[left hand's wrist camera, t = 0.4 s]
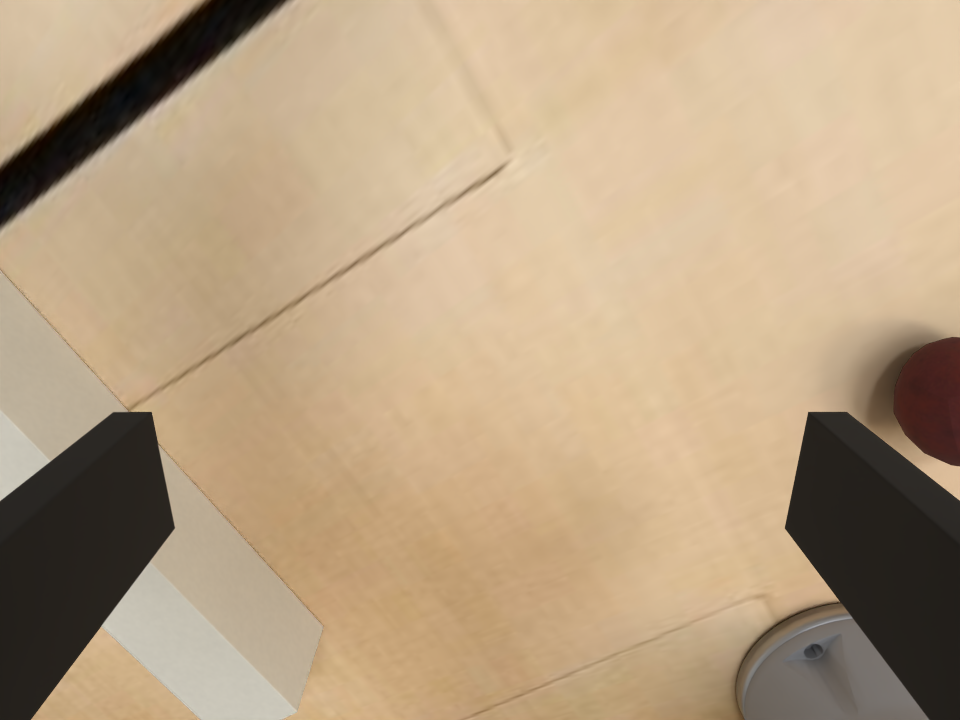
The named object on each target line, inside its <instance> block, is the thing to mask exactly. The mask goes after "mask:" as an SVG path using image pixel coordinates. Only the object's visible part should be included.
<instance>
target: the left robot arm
mask: <svg viewBox="0 0 960 720" xmlns="http://www.w3.org/2000/svg"><path fill="white" fill-rule="evenodd" d="M174 529H175V525H174V520H173V515H172V510H171V505H170V500H169V495H168V490H167V486H166V481H165V476H164V471H163V466H162V461H161V456H160V451H159V446H158V441H157V436H156V431H155V426H154V421H153V416H152V412H113V413H111V414H110V415H109V416H108V417H106V418H105V419H104V420H103V421H101V422H100V423H99V424H97V425H96V426H95V427H94V428H92V429H91V430H90V431H89V432H87V433H86V434H85V435H83V436H82V437H81V438H80V439H78V440H77V441H76V442H75V443H73V444H72V445H71V446H69V447H68V448H67V449H66V450H64V451H63V452H62V453H61V454H59V455H58V456H57V457H55V458H54V459H53V460H52V461H50V462H49V463H48V464H47V465H45V466H44V467H43V468H41V469H40V470H39V471H38V472H36V473H35V474H34V475H33V476H31V477H30V478H29V479H27V480H26V481H25V482H24V483H22V484H21V485H20V486H19V487H17V488H16V489H15V490H13V491H12V492H11V493H10V494H8V495H7V496H6V497H5V498H3V499H2V500H1V501H0V720H31V719H32V717H33V716H34V715H35V713H36V712H37V711H38V709H39V708H40V707H41V705H42V704H43V703H44V701H45V700H46V699H47V698H48V696H49V695H50V694H51V692H52V691H53V690H54V688H55V687H56V686H57V684H58V683H59V682H60V680H61V679H62V678H63V676H64V675H65V674H66V672H67V671H68V670H69V668H70V667H71V666H72V664H73V663H74V662H75V660H76V659H77V658H78V656H79V655H80V654H81V652H82V651H83V650H84V648H85V647H86V646H87V644H88V643H89V642H90V640H91V639H92V638H93V636H94V635H95V634H96V633H97V631H98V630H99V629H100V627H101V626H102V625H103V623H104V622H105V621H106V619H107V618H108V617H109V615H110V614H111V613H112V611H113V610H114V609H115V607H116V606H117V605H118V603H119V602H120V601H121V599H122V598H123V597H124V595H125V594H126V593H127V591H128V590H129V589H130V587H131V586H132V585H133V583H134V582H135V581H136V579H137V578H138V577H139V575H140V574H141V573H142V572H143V570H144V569H145V568H146V566H147V565H148V564H149V562H150V561H151V560H152V558H153V557H154V556H155V554H156V553H157V552H158V550H159V549H160V548H161V546H162V545H163V544H164V542H165V541H166V540H167V538H168V537H169V536H170V534H171V533H172V532H173V530H174ZM785 529H786V530H787V532H788V533H789V534H790V536H791V537H792V538H793V540H794V541H795V542H796V544H797V545H798V546H799V548H800V549H801V550H802V552H803V553H804V554H805V556H806V557H807V558H808V560H809V561H810V562H811V564H812V565H813V566H814V568H815V569H816V570H817V572H818V573H819V574H820V575H821V577H822V578H823V579H824V581H825V582H826V583H827V585H828V586H829V587H830V589H831V590H832V591H833V593H834V594H835V595H836V597H837V598H838V599H839V601H840V602H841V603H842V605H843V606H844V607H845V609H846V610H847V611H848V613H849V614H850V615H851V617H852V618H853V619H854V621H855V622H856V623H857V625H858V626H859V627H860V629H861V630H862V631H863V633H864V634H865V635H866V636H867V638H868V639H869V640H870V642H871V643H872V644H873V646H874V647H875V648H876V650H877V651H878V652H879V654H880V655H881V656H882V658H883V659H884V660H885V662H886V663H887V664H888V666H889V667H890V668H891V670H892V671H893V672H894V674H895V675H896V676H897V678H898V679H899V680H900V682H901V683H902V684H903V686H904V687H905V688H906V690H907V691H908V692H909V694H910V695H911V696H912V698H913V699H914V700H915V701H916V703H917V704H918V705H919V707H920V708H921V709H922V711H923V712H924V713H925V715H926V716H927V717H928V719H929V720H960V501H959V500H958V499H957V498H955V497H954V496H953V495H952V494H950V493H949V492H948V491H947V490H945V489H944V488H943V487H941V486H940V485H939V484H938V483H936V482H935V481H934V480H933V479H931V478H930V477H929V476H927V475H926V474H925V473H924V472H922V471H921V470H920V469H919V468H917V467H916V466H915V465H913V464H912V463H911V462H910V461H908V460H907V459H906V458H905V457H903V456H902V455H901V454H899V453H898V452H897V451H896V450H894V449H893V448H892V447H891V446H889V445H888V444H887V443H885V442H884V441H883V440H882V439H880V438H879V437H878V436H877V435H875V434H874V433H873V432H871V431H870V430H869V429H868V428H866V427H865V426H864V425H863V424H861V423H860V422H859V421H857V420H856V419H855V418H854V417H852V416H851V415H850V414H849V413H847V412H808V416H807V421H806V426H805V431H804V436H803V441H802V446H801V451H800V456H799V461H798V466H797V471H796V476H795V481H794V486H793V490H792V495H791V500H790V505H789V510H788V515H787V520H786V525H785Z"/></svg>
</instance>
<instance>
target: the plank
mask: <svg viewBox="0 0 960 720" xmlns="http://www.w3.org/2000/svg"><path fill="white" fill-rule="evenodd" d="M113 412H129V411H128V410H127V409H126V408H125V407H124V406H123V405H122V403H121V402H120V401H119V400H118V399H117V398H116V397H115V396H114V395H113V394H112V392H111V391H110V390H109V389H108V388H107V387H106V386H105V385H104V384H103V383H102V381H101V380H100V379H99V378H98V377H97V376H96V375H95V374H94V373H93V372H92V370H91V369H90V368H89V367H88V366H87V365H86V364H85V363H84V362H83V360H82V359H81V358H80V357H79V356H78V355H77V354H76V353H75V352H74V351H73V349H72V348H71V347H70V346H69V345H68V344H67V343H66V342H65V341H64V340H63V338H62V337H61V336H60V335H59V334H58V333H57V332H56V331H55V330H54V329H53V327H52V326H51V325H50V324H49V323H48V322H47V321H46V320H45V319H44V317H43V316H42V315H41V314H40V313H39V312H38V311H37V310H36V309H35V308H34V306H33V305H32V304H31V303H30V302H29V301H28V300H27V299H26V298H25V297H24V295H23V294H22V293H21V292H20V291H19V290H18V289H17V288H16V287H15V286H14V284H13V283H12V282H11V281H10V280H9V279H8V278H7V277H6V276H5V274H4V273H3V272H2V271H1V270H0V501H1V500H2V499H3V498H5V497H6V496H7V495H8V494H10V493H11V492H12V491H13V490H15V489H16V488H17V487H19V486H20V485H21V484H22V483H24V482H25V481H26V480H27V479H29V478H30V477H31V476H33V475H34V474H35V473H36V472H38V471H39V470H40V469H41V468H43V467H44V466H45V465H47V464H48V463H49V462H50V461H52V460H53V459H54V458H55V457H57V456H58V455H59V454H61V453H62V452H63V451H64V450H66V449H67V448H68V447H69V446H71V445H72V444H73V443H75V442H76V441H77V440H78V439H80V438H81V437H82V436H83V435H85V434H86V433H87V432H89V431H90V430H91V429H92V428H94V427H95V426H96V425H97V424H99V423H100V422H101V421H103V420H104V419H105V418H106V417H108V416H109V415H110V414H111V413H113ZM158 446H159V451H160V456H161V461H162V466H163V471H164V476H165V481H166V486H167V490H168V495H169V500H170V505H171V510H172V515H173V520H174V525H175V529H174V530H173V532H172V533H171V534H170V536H169V537H168V538H167V540H166V541H165V542H164V544H163V545H162V546H161V548H160V549H159V550H158V552H157V553H156V554H155V556H154V557H153V558H152V560H151V561H150V562H149V564H148V565H147V566H146V568H145V569H144V570H143V572H142V573H141V574H140V575H139V577H138V578H137V579H136V581H135V582H134V583H133V585H132V586H131V587H130V589H129V590H128V591H127V593H126V594H125V595H124V597H123V598H122V599H121V601H120V602H119V603H118V605H117V606H116V607H115V609H114V610H113V611H112V613H111V614H110V615H109V617H108V618H107V619H106V621H105V622H104V623H103V625H102V626H101V627H102V628H103V629H105V630H106V631H107V632H108V633H109V634H110V635H111V636H112V637H113V638H114V639H115V640H116V641H117V642H118V643H119V644H120V645H122V646H123V647H124V648H125V649H126V650H127V651H128V652H129V653H130V654H131V655H132V656H133V657H134V658H135V659H136V660H138V661H139V662H140V663H141V664H142V665H143V666H144V667H145V668H146V669H147V670H148V671H149V672H150V673H151V674H152V675H153V676H155V677H156V678H157V679H158V680H159V681H160V682H161V683H162V684H163V685H164V686H165V687H166V688H167V689H168V690H169V691H170V692H172V693H173V694H174V695H175V696H176V697H177V698H178V699H179V700H180V701H181V702H182V703H183V704H184V705H185V706H186V707H188V708H189V709H190V710H191V711H192V712H193V713H194V714H195V715H196V716H197V717H198V718H199V719H200V720H282V719H284V718H286V717H288V716H290V715H292V714H294V713H296V712H297V711H298V708H299V705H300V701H301V698H302V695H303V692H304V689H305V685H306V682H307V679H308V676H309V672H310V669H311V666H312V663H313V660H314V656H315V653H316V650H317V647H318V644H319V640H320V637H321V634H322V631H323V625H322V624H321V623H320V622H319V621H318V620H317V618H316V617H315V616H314V615H313V614H312V613H311V612H310V611H309V610H308V609H307V607H306V606H305V605H304V604H303V603H302V602H301V601H300V600H299V599H298V598H297V596H296V595H295V594H294V593H293V592H292V591H291V590H290V589H289V588H288V587H287V585H286V584H285V583H284V582H283V581H282V580H281V579H280V578H279V577H278V575H277V574H276V573H275V572H274V571H273V570H272V569H271V568H270V567H269V566H268V564H267V563H266V562H265V561H264V560H263V559H262V558H261V557H260V556H259V555H258V553H257V552H256V551H255V550H254V549H253V548H252V547H251V546H250V545H249V544H248V542H247V541H246V540H245V539H244V538H243V537H242V536H241V535H240V534H239V532H238V531H237V530H236V529H235V528H234V527H233V526H232V525H231V524H230V523H229V521H228V520H227V519H226V518H225V517H224V516H223V515H222V514H221V513H220V512H219V510H218V509H217V508H216V507H215V506H214V505H213V504H212V503H211V502H210V501H209V499H208V498H207V497H206V496H205V495H204V494H203V493H202V492H201V491H200V489H199V488H198V487H197V486H196V485H195V484H194V483H193V482H192V481H191V480H190V478H189V477H188V476H187V475H186V474H185V473H184V472H183V471H182V470H181V469H180V467H179V466H178V465H177V464H176V463H175V462H174V461H173V460H172V459H171V458H170V456H169V455H168V454H167V453H166V452H165V451H164V450H163V449H162V448H161V446H160V445H159V444H158Z"/></svg>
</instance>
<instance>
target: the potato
mask: <svg viewBox="0 0 960 720" xmlns="http://www.w3.org/2000/svg"><path fill="white" fill-rule="evenodd" d="M894 414H895V416H896V418H897V420H898V422H899V424H900V426H901V428H902V430H903V431H904V433H905V435H906V436H907V437H908V438H909V439H910V440H911V441H912V442H913V443H914V444H915V445H916V446H917V447H918V448H920V449H921V450H922V451H923V452H924V453H925V454H927V455H930V456H932V457H934V458H936V459H938V460H941V461H943V462H945V463H948V464H950V465H954V466H960V338H959V337H951V338H946V339H942V340H939V341H936V342H932V343H929V344H927V345H925V346H924V347H922V348H921V349H920V350H918V351H917V352H915V353H914V354H913V355H912V356H911V357H910V359H909V360H908V361H907V363H906V364H905V365H904V366H903V368H902V371H901V373H900V376H899V378H898V380H897V383H896V385H895V391H894Z"/></svg>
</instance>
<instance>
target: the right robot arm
mask: <svg viewBox="0 0 960 720" xmlns="http://www.w3.org/2000/svg"><path fill="white" fill-rule="evenodd" d="M736 697H737V702H738V705H739V708H740V711H741V713H742V715H743V717H744V720H929V719H928V717H927V716H926V715H925V713H924V712H923V711H922V709H921V708H920V707H919V705H918V704H917V703H916V701H915V700H914V699H913V698H912V696H911V695H910V694H909V692H908V691H907V690H906V688H905V687H904V686H903V684H902V683H901V682H900V680H899V679H898V678H897V676H896V675H895V674H894V672H893V671H892V670H891V668H890V667H889V666H888V664H887V663H886V662H885V660H884V659H883V658H882V656H881V655H880V654H879V652H878V651H877V650H876V648H875V647H874V646H873V644H872V643H871V642H870V640H869V639H868V638H867V636H866V635H865V634H864V633H863V631H862V630H861V629H860V627H859V626H858V625H857V623H856V622H855V621H854V619H853V618H852V617H851V615H850V614H849V613H848V611H847V610H846V609H845V607H844V606H843V605H842V603H838V604H831V605H826V606H821V607H817V608H814V609H810V610H808V611H805V612H802V613H800V614H798V615H795V616H793V617H791V618H789V619H787V620H785V621H784V622H782V623H780V624H779V625H777V626H776V627H774V628H773V629H772V630H770V631H769V632H768V633H766V634H765V635H764V636H763V637H762V638H761V639H760V640H759V641H758V642H757V643H756V644H755V645H754V646H753V648H752V649H751V650H750V652H749V653H748V655H747V656H746V658H745V659H744V661H743V663H742V666H741V668H740V671H739V673H738V678H737V683H736Z"/></svg>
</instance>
